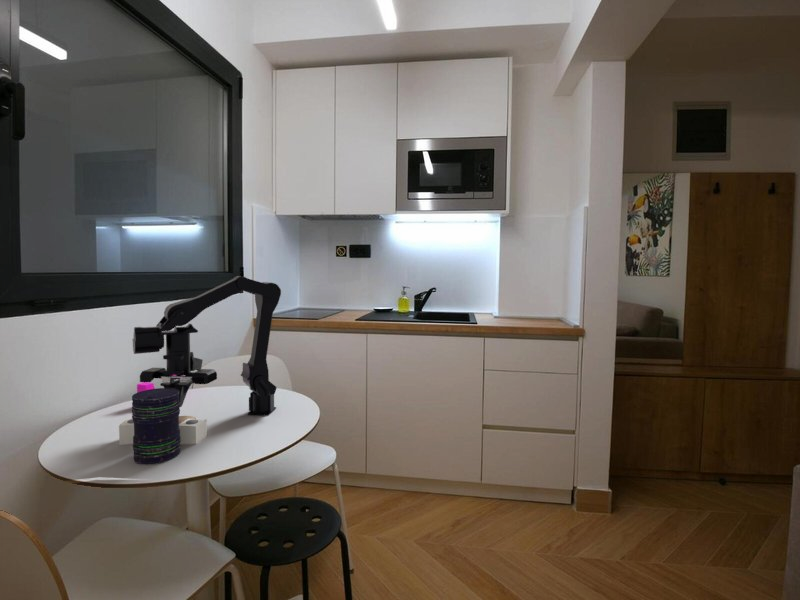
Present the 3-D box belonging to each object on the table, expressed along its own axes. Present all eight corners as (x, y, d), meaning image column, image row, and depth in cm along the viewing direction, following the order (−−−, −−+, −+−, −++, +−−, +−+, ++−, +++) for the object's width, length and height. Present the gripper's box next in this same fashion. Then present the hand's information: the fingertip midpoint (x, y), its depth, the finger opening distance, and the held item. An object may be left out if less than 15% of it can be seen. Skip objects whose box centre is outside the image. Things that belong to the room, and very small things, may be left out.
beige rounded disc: (199, 426, 121) (199, 415, 121) (191, 436, 113) (192, 425, 113) (168, 426, 119) (169, 416, 119) (158, 437, 111) (159, 425, 111)
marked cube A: (206, 438, 112) (206, 418, 111) (196, 445, 107) (195, 425, 106) (188, 437, 112) (188, 417, 112) (177, 444, 107) (176, 424, 107)
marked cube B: (148, 435, 113) (147, 416, 112) (142, 443, 108) (141, 423, 107) (126, 437, 111) (126, 417, 111) (119, 445, 106) (118, 424, 106)
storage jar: (147, 447, 105) (145, 387, 104) (188, 446, 106) (186, 387, 105) (123, 465, 95) (121, 400, 94) (169, 464, 96) (167, 399, 95)
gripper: (226, 345, 122) (226, 399, 123) (163, 344, 123) (165, 397, 124) (205, 353, 111) (206, 411, 112) (137, 351, 112) (139, 409, 113)
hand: (179, 406), depth 115 cm, fingers closed
